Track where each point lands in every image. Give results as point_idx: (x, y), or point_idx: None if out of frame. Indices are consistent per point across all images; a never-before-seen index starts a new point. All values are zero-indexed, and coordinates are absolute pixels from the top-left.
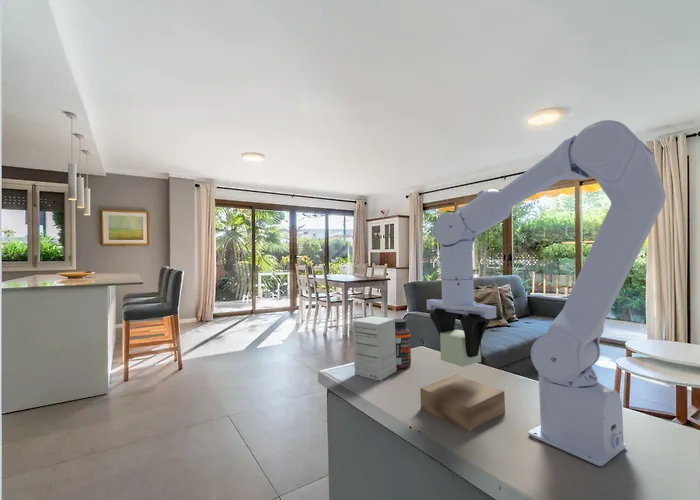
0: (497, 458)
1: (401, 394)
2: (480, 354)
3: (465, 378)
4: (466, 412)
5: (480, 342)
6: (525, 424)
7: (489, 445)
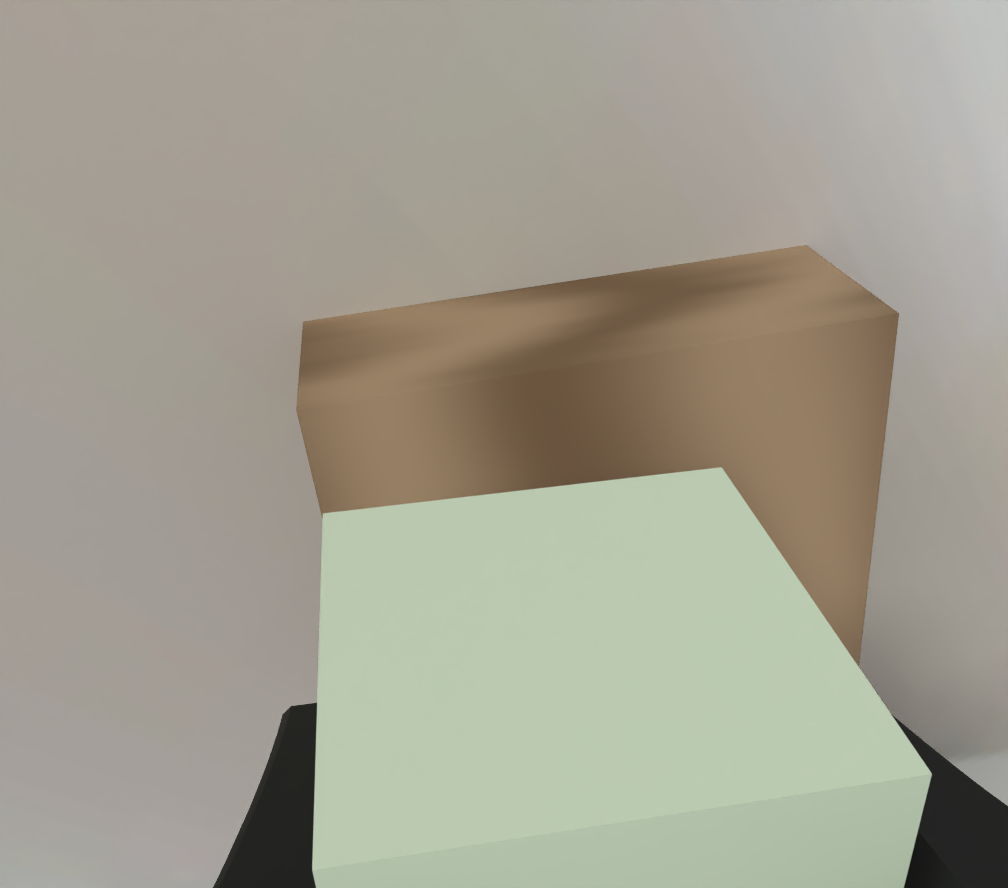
0: (1004, 673)
1: (89, 702)
2: (757, 524)
3: (439, 388)
4: None
5: (946, 762)
6: (993, 279)
7: (930, 634)
